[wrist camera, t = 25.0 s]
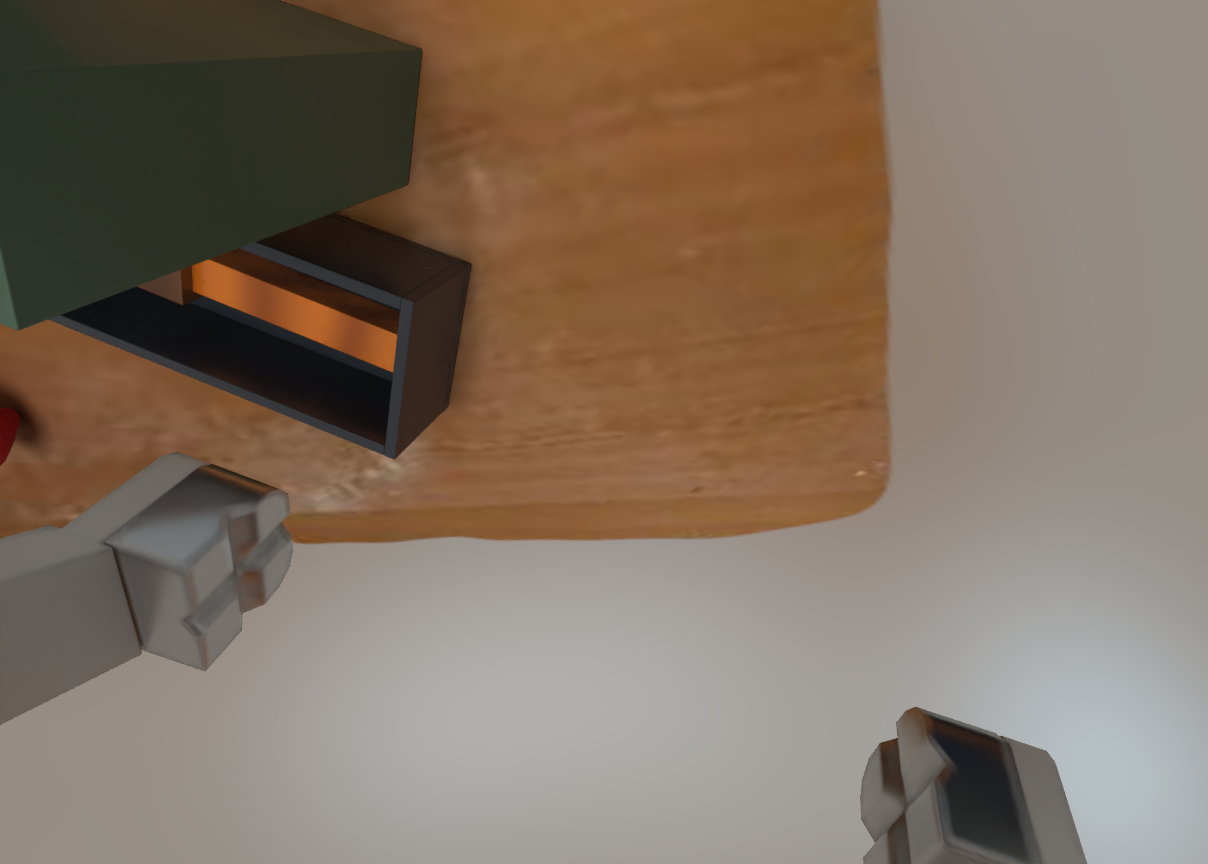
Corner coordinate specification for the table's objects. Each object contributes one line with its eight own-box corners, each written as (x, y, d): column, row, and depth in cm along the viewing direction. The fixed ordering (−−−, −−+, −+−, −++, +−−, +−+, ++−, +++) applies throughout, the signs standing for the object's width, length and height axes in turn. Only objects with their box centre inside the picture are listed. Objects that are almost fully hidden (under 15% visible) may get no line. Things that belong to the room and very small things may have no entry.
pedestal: (422, 49, 41) (-40, 74, 19) (408, 185, 45) (18, 331, 23) (240, -14, 42) (-392, -56, 20) (243, 125, 46) (-274, 212, 25)
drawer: (471, 263, 47) (413, 302, 40) (448, 406, 53) (394, 459, 46) (88, 121, 49) (-25, 135, 43) (109, 273, 56) (13, 306, 49)
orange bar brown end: (426, 312, 48) (396, 333, 45) (418, 366, 51) (389, 389, 48) (173, 212, 50) (126, 225, 47) (177, 269, 53) (132, 285, 49)
